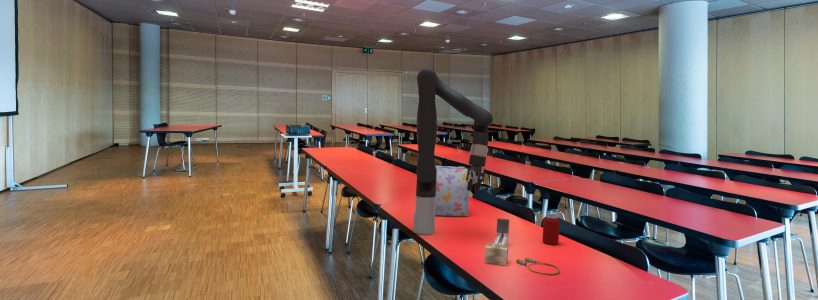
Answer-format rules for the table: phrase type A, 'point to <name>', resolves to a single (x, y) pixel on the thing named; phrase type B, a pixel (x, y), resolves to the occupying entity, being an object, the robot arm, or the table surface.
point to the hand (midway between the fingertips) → (472, 191)
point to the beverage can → (551, 229)
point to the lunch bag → (451, 191)
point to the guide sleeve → (505, 239)
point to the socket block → (496, 254)
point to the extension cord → (535, 264)
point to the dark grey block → (502, 228)
